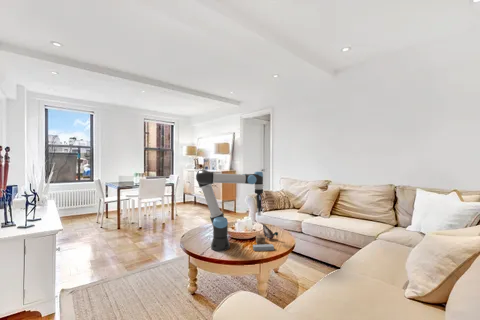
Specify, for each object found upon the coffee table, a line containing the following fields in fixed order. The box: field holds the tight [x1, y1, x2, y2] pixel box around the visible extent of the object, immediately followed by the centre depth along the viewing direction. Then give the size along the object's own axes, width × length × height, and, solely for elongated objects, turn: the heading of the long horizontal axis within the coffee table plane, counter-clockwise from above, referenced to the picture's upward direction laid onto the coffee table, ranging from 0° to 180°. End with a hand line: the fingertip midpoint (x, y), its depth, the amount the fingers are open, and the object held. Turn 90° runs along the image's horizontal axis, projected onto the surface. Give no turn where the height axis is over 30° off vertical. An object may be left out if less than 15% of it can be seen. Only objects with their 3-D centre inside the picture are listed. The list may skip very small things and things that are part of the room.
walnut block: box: [255, 234, 266, 245], centre depth 200 cm, size 7×7×6 cm
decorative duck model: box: [262, 224, 279, 240], centre depth 210 cm, size 15×8×15 cm, turn 52°
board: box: [252, 243, 275, 252], centre depth 186 cm, size 16×5×3 cm, turn 94°
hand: (259, 215), depth 209 cm, fingers closed
